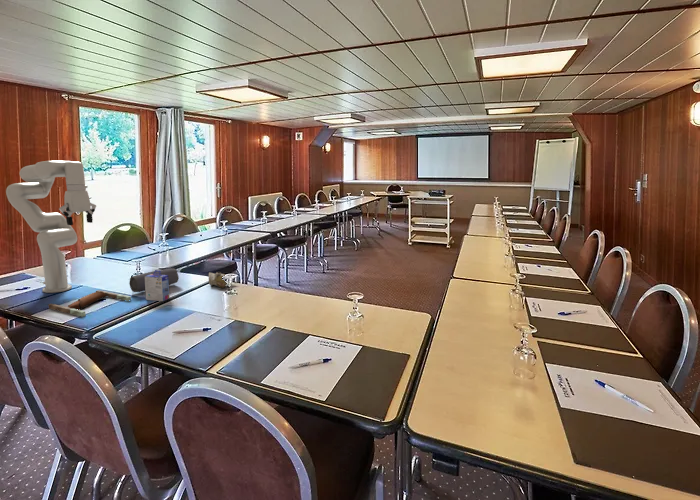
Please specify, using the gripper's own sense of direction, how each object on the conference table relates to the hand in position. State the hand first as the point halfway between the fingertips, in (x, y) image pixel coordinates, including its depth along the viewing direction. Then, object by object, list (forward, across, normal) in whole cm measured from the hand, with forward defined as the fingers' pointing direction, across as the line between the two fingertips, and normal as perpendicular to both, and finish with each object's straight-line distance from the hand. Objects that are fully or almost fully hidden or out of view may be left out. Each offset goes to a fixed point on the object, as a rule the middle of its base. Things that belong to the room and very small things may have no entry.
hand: (80, 223), depth 201 cm
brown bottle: (+38, +8, +9) cm, 39 cm away
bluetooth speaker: (+37, -23, +20) cm, 48 cm away
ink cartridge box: (+37, -12, +34) cm, 52 cm away
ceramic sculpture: (+37, -43, +46) cm, 74 cm away
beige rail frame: (+37, +8, +13) cm, 40 cm away
